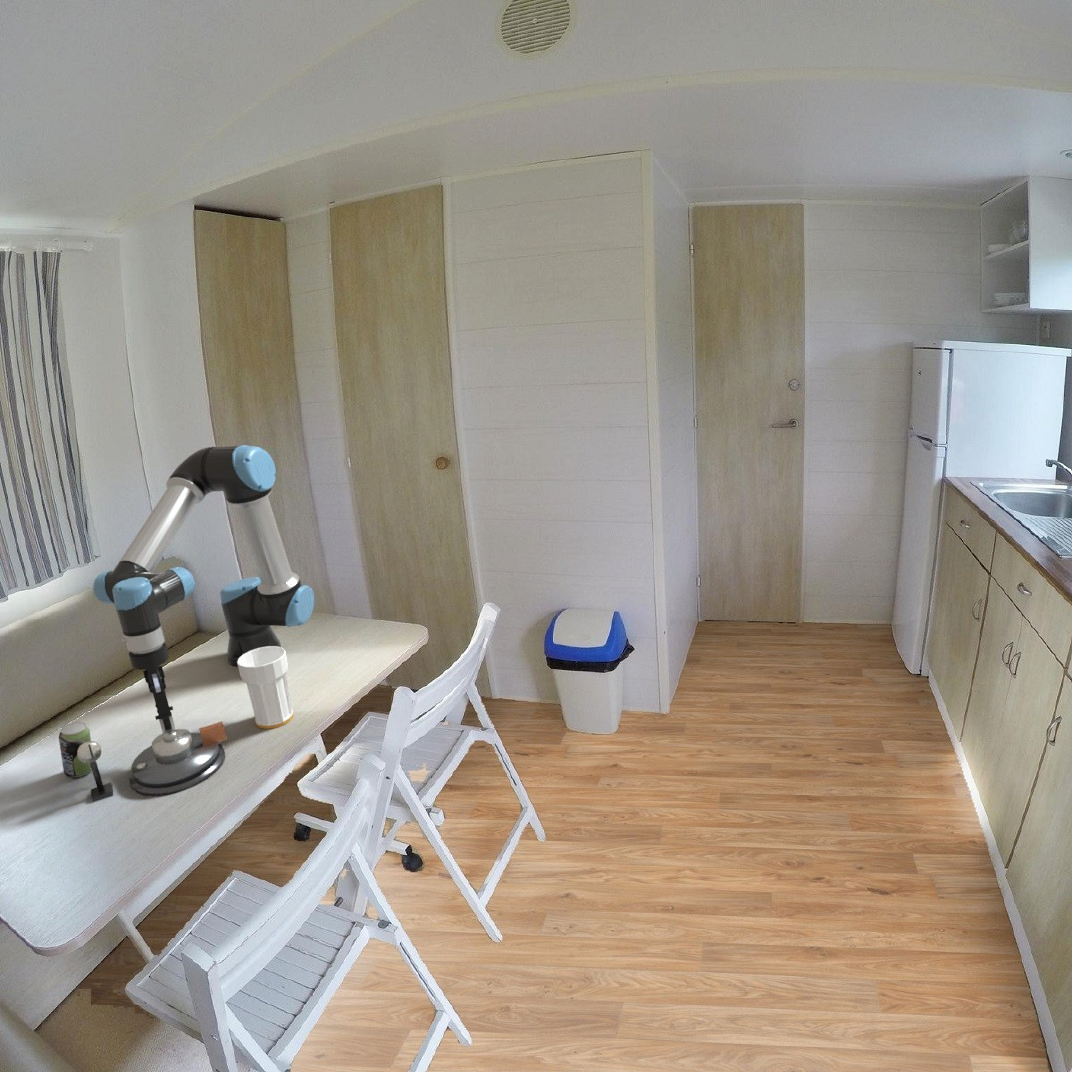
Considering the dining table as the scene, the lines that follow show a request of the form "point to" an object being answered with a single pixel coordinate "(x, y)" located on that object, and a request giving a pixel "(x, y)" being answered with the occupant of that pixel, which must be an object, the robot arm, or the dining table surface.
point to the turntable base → (180, 786)
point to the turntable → (176, 773)
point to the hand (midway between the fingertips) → (171, 739)
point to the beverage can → (74, 748)
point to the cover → (172, 746)
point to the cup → (267, 685)
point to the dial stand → (94, 769)
